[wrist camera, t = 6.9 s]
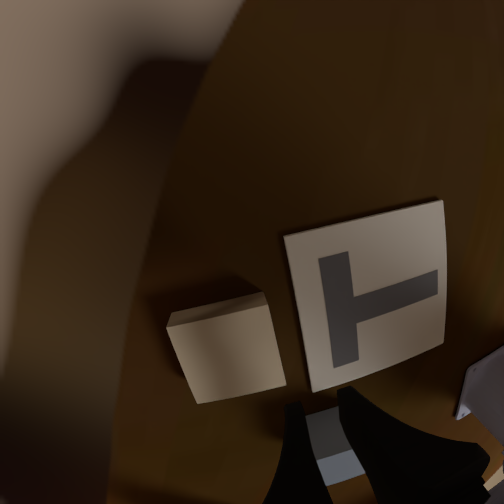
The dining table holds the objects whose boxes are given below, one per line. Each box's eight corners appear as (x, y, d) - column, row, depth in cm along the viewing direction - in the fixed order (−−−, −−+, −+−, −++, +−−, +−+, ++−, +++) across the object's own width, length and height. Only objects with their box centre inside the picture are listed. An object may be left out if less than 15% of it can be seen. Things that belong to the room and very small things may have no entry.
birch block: (262, 289, 19) (267, 304, 17) (279, 364, 21) (286, 384, 18) (172, 310, 19) (166, 327, 17) (199, 382, 21) (197, 403, 18)
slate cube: (351, 400, 22) (374, 441, 17) (352, 432, 23) (371, 470, 18) (300, 416, 22) (315, 460, 17) (306, 447, 23) (319, 487, 18)
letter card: (439, 199, 19) (443, 200, 18) (440, 340, 22) (443, 343, 21) (283, 235, 18) (284, 237, 18) (311, 389, 21) (313, 393, 21)
